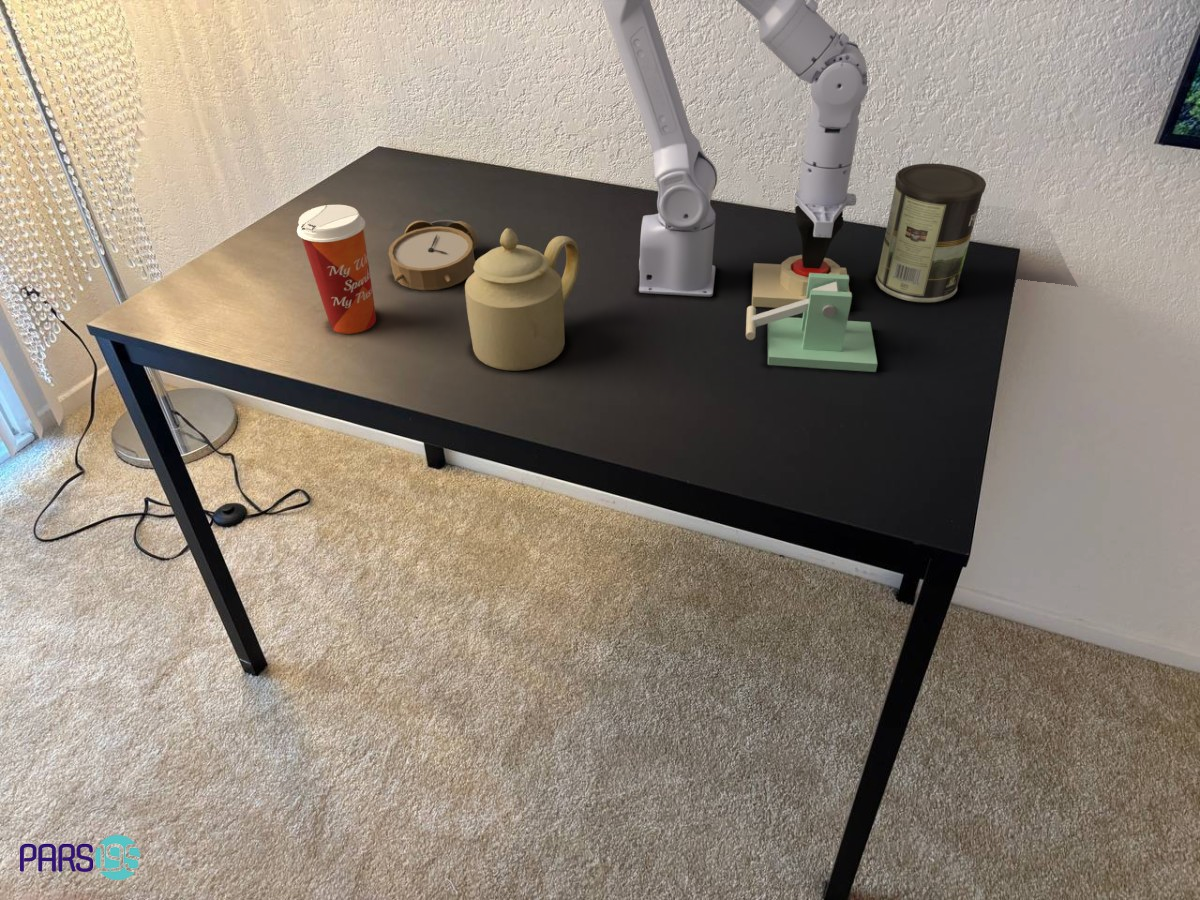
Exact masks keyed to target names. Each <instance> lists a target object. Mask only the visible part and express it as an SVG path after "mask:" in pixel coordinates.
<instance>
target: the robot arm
mask: <svg viewBox="0 0 1200 900" xmlns="http://www.w3.org/2000/svg"><path fill="white" fill-rule="evenodd" d="M735 1H736V2H737V3H738V4H739V5H741V6H742V7H743V8H744V9H745V10H746V11H747V12H748V13H749V14H751V15H752V17H754V18H755V19H756V20H757V21H758V24H759V29H758V31H759V32H758V34H759V35H758V37H759V40H760V42H762V44H764V45H765V47H767V48H768V49H769V50H770V51H771V52H772V53H773V55H775V56H776V58H778V59H779V60H780V61H781V62H782V64H784V65H785V66H787V68H788V69H789V70H790V71H791V72H792V73H793V74H794V75H795V76H796V77H797V78H798V79H800V81H804V82H807V83H809V84H810V95H811V98H812V101H811V109H810V114H809V115H808V117H807V119H806V128H805V134H804V135H805V136H804V142H803V150H802V157H801V164H800V165H801V166H800V173H799V180H798V187H797V191H796V192H795V198H794V202H795V204H796V206H794V207H795V208H794V213H795V217H794V218H795V223H796V226H797V228H798V231H799V235H800V240H801V255H802V262H803V267H804V268H818V269H819V268H820V267H821V265H822V263H823V260H824V258H826V255H827V253H828V249H829V248H830V245H831V243H832V241H833V240H834V238H835V236H836V235H837V234H838V233H839V231H840V230H841V229H842V228H843V226H844V223H845V222H844V217H843V216H844V209H845V208H846V207H849V206H850V207H851V206H856V204H857V195H856V194H855V193H848V190H849V184H850V178H851V173H852V167H853V160H854V155H855V149H856V144H857V137H858V132H859V125H860V119H859V116H860V113H861V108H862V102H863V101H864V99H865V98H866V97H867V93H868V91H869V86H868V69H867V68H868V67H867V61H866V58H865V55H864V54H863V52H862V51H861V50H860V48H859V45H858V44H857V43H855V42H853V41H850V37H849V36H848V35H847V34H846V33H845V32H844V31H842V32H841V33H840V34H839V33H838V32H837V30H835V29H834V27H832V26H831V25H830V24H829V22H827V21H826V20H825V19H824V17H822V16H821V14H819V13H818V12H817V10H818V8H819V3H818V2H817V1H816V0H735ZM600 2H601V6H602V8H603V11H604V15H605V17H606V20H607V23H608V27H609V29H610V31H611V34H612V38H613V40H614V43H615V46H616V49H617V52H618V55H619V57H620V60H621V64H622V66H623V69H624V73H625V75H626V78H627V81H628V83H629V84H628V85H629V86H630V87H629V88H630V89H631V92H632V95H633V98H634V101H635V104H636V108H637V109H638V112H639V115H640V118H641V121H642V124H643V127H644V130H645V133H646V137H647V139H648V141H649V145H650V147H651V150H652V153H653V154H652V155H653V171H654V179H655V183H656V186H657V189H658V192H657V200H656V207H657V211H658V212H657V213H655V214H647V215H643V216H642V220H641V228H640V229H641V230H640V239H639V241H640V243H639V244H640V245H639V259H638V271H639V287H638V292H639V294H640V293H641V294H649V295H650V294H652V295H653V294H654V295H670V296H685V297H687V296H688V297H702V298H703V297H705V298H710V297H713V295H714V286H715V276H716V266H715V265H713V257H714V247H715V230H716V216H717V215H716V212H715V210H714V208H713V207H712V205H711V200H712V196H713V193H714V191H715V189H716V187H717V183H718V171H717V168H716V166H715V164H714V162H713V161H712V160H711V159H709V157H708V156H707V155H706V154H705V152H704V151H703V149H702V146H701V142H700V141H699V139H698V138H697V136H695V134H694V133H693V131H692V129H691V126H690V122H689V119H688V117H687V113H686V110H685V107H684V104H683V101H682V97H681V94H680V91H679V88H678V85H677V82H676V79H675V75H674V72H673V69H672V66H671V63H670V58H669V56H668V54H667V50H666V47H665V43H664V41H663V37H662V34H661V30H660V27H659V25H658V21H657V18H656V15H655V12H654V8H653V6H652V2H651V0H600Z"/></svg>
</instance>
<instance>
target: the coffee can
mask: <svg viewBox="0 0 1200 900" xmlns="http://www.w3.org/2000/svg"><path fill="white" fill-rule="evenodd" d="M894 182H895V185H894V189H893V193H892V194H893V195H892V199H891V205H890V209H889V215H888V219H887V224H886V228H885V235H884V238H883V244H882V250H881V254H880V259H879V264H878V268H877V274H876V276H875V282H876V284H877V286H878V287H879V289H880V290H881V291H883V292H884V293H886V294H887V295H889V296H891V297H895V298H897V299H900V300H903V301H906V302H907V301H908V302H913V303H921V304H923V303H938V302H943V301H946V300H948V299H951V298H952V297H953V296H954V295H956V293H957V291H958V285H959V282H960V278H961V274H962V271H963V267H964V262H965V259H966V255H967V252H968V248H969V245H970V240H971V237H972V233H973V230H974V227H975V226H974V225H975V223H976V219H977V217H978V216H977V215H978V212H979V208H980V204H981V201H982V197H983V194H984V192H985V190H986V187H987V183H986V180H985V178H984V177H982V176H981V175H980V174H979V173H978V172H977V173H976V172H974V171H972V170H970V169H967V168H964V167H961V166H957V165H952V164H945V163H931V162H928V163H917V164H912V165H908V166H904V167H902V168H901V169H899V170H898V171H897V172H896V174H895V178H894Z"/></svg>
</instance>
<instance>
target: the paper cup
mask: <svg viewBox="0 0 1200 900" xmlns="http://www.w3.org/2000/svg"><path fill="white" fill-rule="evenodd" d="M365 227H366V221H365V219H364V218H363V216H361V215H360V212H359V210H357V209H356V208H355V207H353V206H350V205H346V204H326V205H320V206H316V207H313V208H310V209H308V210H306V211H305V212H303V213H302V214H301V215H300V216H299V218H298V226H297V230H296V233H297V235H298V236H299V238H301V240H302V244H303V247H304V249H305V253H306V256H307V258H308V262H309V265H310V269H311V271H312V274H313V277H314V281H315V284H316V287H317V290H318V293H319V296H320V299H321V303H322V305H323V308H324V311H325V315H326V317H327V320H328V323H329V325H330V327H331V330H333V331H334V332H336V333H339V334H343V335H344V334H346V335H351V334H358V333H362V332H365V331H367V330H369V329H370V328H372V327H373V326H374V325H375V323H376V320H377V318H376V317H377V316H376V306H375V300H374V299H375V298H374V293H373V286H372V285H373V284H372V278H371V271H370V266H369V264H370V263H369V258H368V250H367V244H366V237H365V230H364V228H365Z"/></svg>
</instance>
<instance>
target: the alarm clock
mask: <svg viewBox="0 0 1200 900" xmlns="http://www.w3.org/2000/svg"><path fill="white" fill-rule="evenodd" d="M477 244H478V236H477V233H476V231H475V229H474V228H473V226H471V224H469V223H467V222H465V221H463V220H462V221H461V220H451V219H439V220H435V221H431V222H429V221H428V220H424V219H419V220H415V221H412V222H411V223H410V224H408V226H407V227H406V228H405V231H404V234H402V235H401V236H399V237H397V238H396V239H394V241H393V242H392V243H391V244H390V245H389V248H388V257H389V261H390V265H391V270H392V275H393V278H394V279H393V280H394V281H395V282H397V283H399V284H400V285H402V286H403V287H406V288H409V289H411V290H420V291H436V290H437V291H439V290H443V289H446V288H451V287H453V286H455V285H458V284H460V283H462V282H464V281H465V280H467V279H468V278H469V277H470V276H471V275H472V274H473V273H474V268H473V267H474V265H475V262H476V258H475V254H474V251H475V249H476V248H477Z"/></svg>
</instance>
